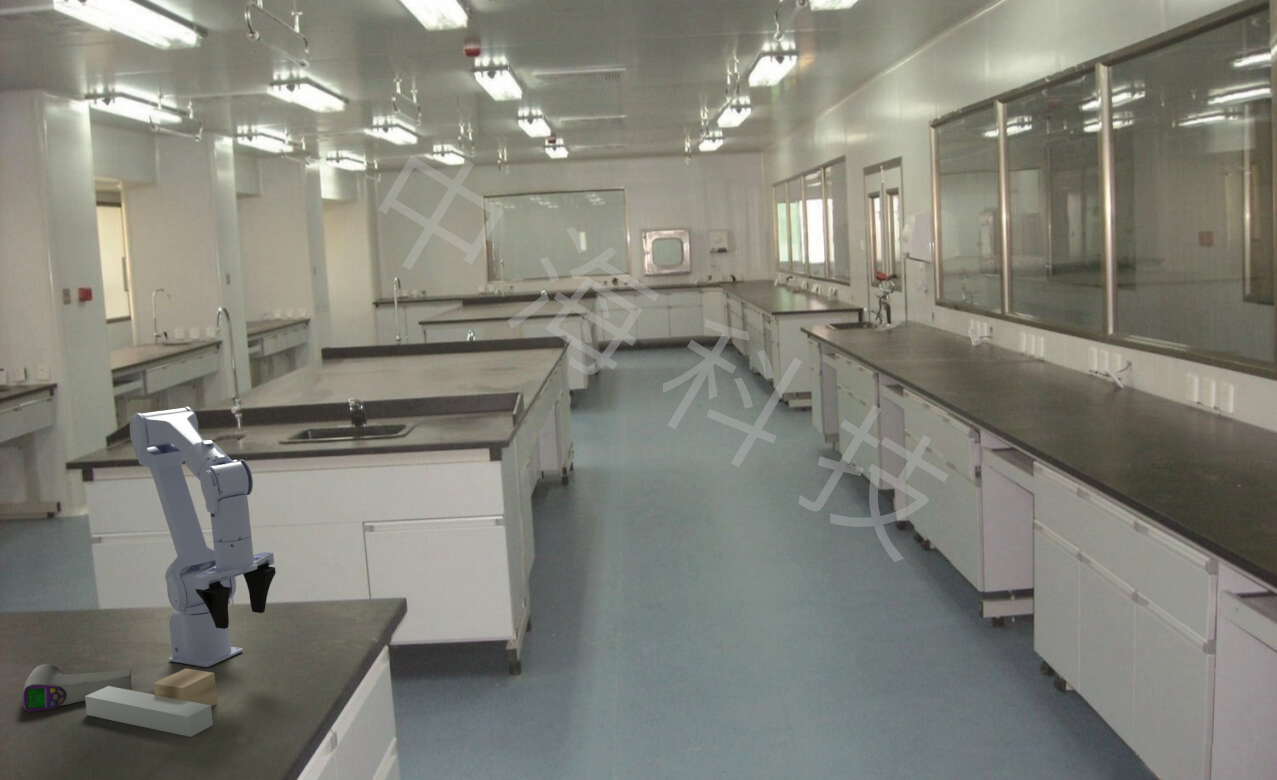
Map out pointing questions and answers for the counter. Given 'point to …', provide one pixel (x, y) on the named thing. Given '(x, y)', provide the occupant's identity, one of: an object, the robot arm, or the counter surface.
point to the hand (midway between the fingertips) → (240, 619)
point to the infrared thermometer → (67, 686)
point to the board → (149, 711)
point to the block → (189, 687)
